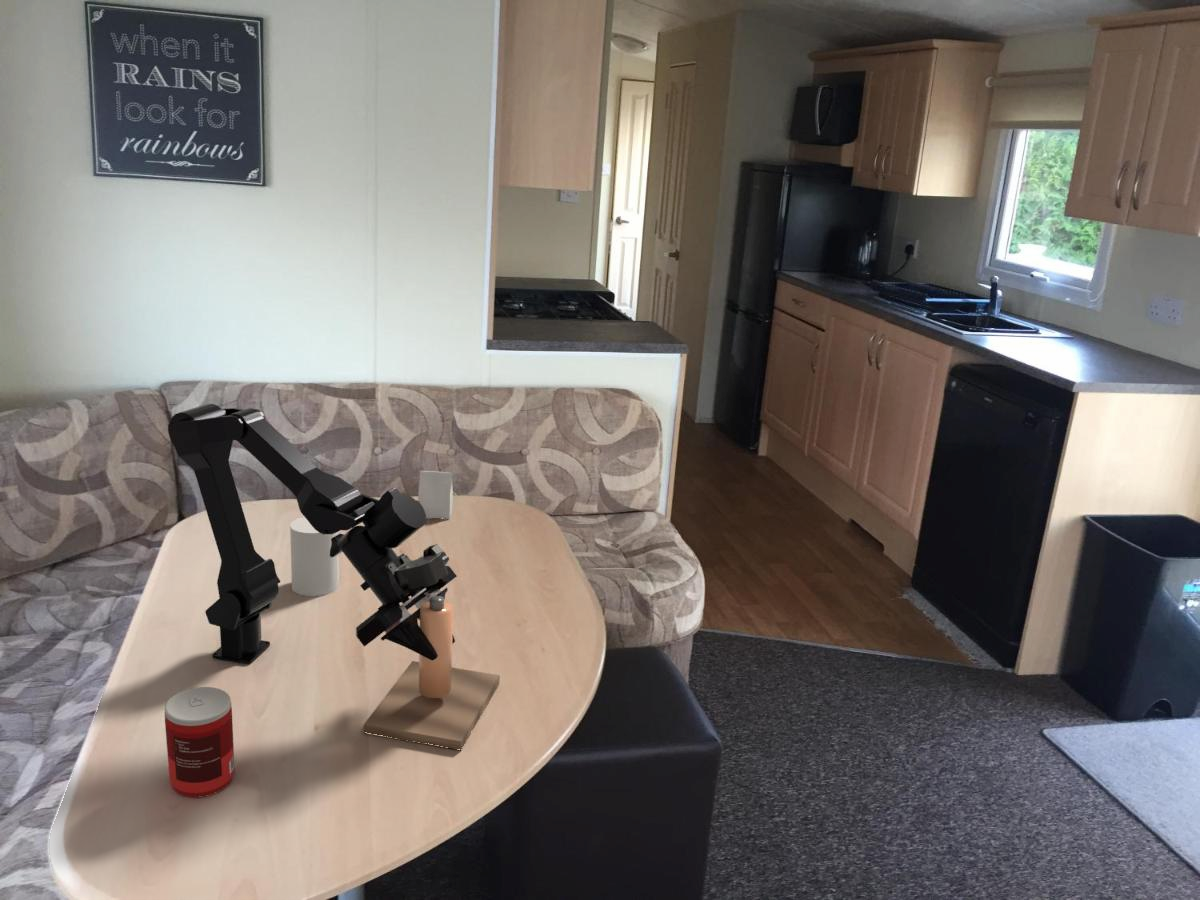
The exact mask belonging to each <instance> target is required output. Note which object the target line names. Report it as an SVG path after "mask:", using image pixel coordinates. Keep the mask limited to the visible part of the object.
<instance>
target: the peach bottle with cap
mask: <svg viewBox="0 0 1200 900" xmlns="http://www.w3.org/2000/svg"><path fill="white" fill-rule="evenodd" d="M419 627H420V628H421V630H422V631H423V633H424V634H425V636H426V637H427V639H428V640H429V642H430V643H431V645H432V646H433V648H434V649H435V651H436V653H437V655H438V657H437V658H436V659H434V660H430V659H428V658H426V657H424V656H422V655H420V654H418V657H419V658H418V659H419V660H418V662H419V692H420V694H421V695H423V696H425V697H429V698H440V697H443V696H446V695H447V694H449V693H450V691H451V671H452V668H453V665H452V664H453V663H452V662H453V644H452V635H453V636H454V634H453V633H454V632H453V631H454V630H453V629H454V606H453V604H452V603H450V602H448V601H445V599H444V598H443V597H442V596H432V597H431V598H430V601H429V602H426V603H424V604H422V605H421V607H420V620H419Z"/></svg>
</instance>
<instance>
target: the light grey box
mask: <svg viewBox="0 0 1200 900" xmlns="http://www.w3.org/2000/svg"><path fill="white" fill-rule="evenodd" d="M453 488H454V485H453V472H447V471H433V470H420V471H419V481H418V492H417V493H418V500H417V501H419V502H420V504H421V505H422V507H423V508H424V511H425V513H426V519H432V518H440V519H439V520H447V519H451V517H452V515H453V495H454V494H453V493H454V489H453ZM451 514H452V515H451ZM450 516H451V517H450ZM442 518H443V519H442ZM445 518H446V519H445Z"/></svg>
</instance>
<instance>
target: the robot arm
mask: <svg viewBox="0 0 1200 900" xmlns="http://www.w3.org/2000/svg"><path fill="white" fill-rule="evenodd" d="M167 431H168V432H167V433H168V435H169V438H170V440H171V443H172V445H173V447H174V449H175V451H176V454H177V455H178V457H179V459H181V460H182V461H183V462H184V463H185V464H186V465H187V466H188V467H189V468H191V469H192V470H193V472H194V474H195V478H196V481H197V485H198V488H199V491H200V494H201V497H202V502H203V504H204V507H205V511H206V514H207V517H208V520H209V524H210V527H211V531H212V534H213V537H214V541H215V544H216V547H217V551H218V554H219V556H220V560H221V561H220V565H219V572H218V576H217V580H216V585H217V591H218V598H219V599H217V600H216V601H215V602H213V604H211V605H210V606H209V607H208V608H207V609H205V611H204V612H205V615H206V618H207V621H208V623H209V624H210V625H213V626H216V627H219V635H220V636H219V637H220V646H219V648H217V650H215V651H214V652H212V656H211V657H212V658H213V659H218V660H225V661H229V660H230V661H231V662H237V663H243V664H251V663H253V662H254V661H255V660H256V659H257V658H258V657H260V655H261V654H262V653H264V652H265V651H266V649H268V648H269V647H270V646H271V642H270V641H268V640H262V621H261V613H263V612H265V611H266V610H269V609H270V608H271V607H272V603H273V601H274V600H275V599H276V598H277V596H278V594H279V591H280V589H279V583H281V580H280V578H279V577H278V574H277V572H276V568H275V567H276V565H275V562H274V561H273V559H272V558H268V559H265V558H263V557H262V556H261V555H260V554H259V553H258V552H257V551H256V549H255V547H254V544H253V540H252V537H251V532H250V530H249V527H248V523H247V520H246V516H245V514H244V510H243V509H244V508H243V506H242V503H241V500H240V496H239V493H238V490H237V486H236V482H235V479H234V476H233V472H232V468H231V466H230V455H231V452H232V451H231V450H232V447H233V442H234V441H236V442H237V443H239V444H240V445H241V446H242V447H243V448H244V449H246V451H247V452H248V453H249V454H251V455H252V456H253V458H255V459H256V460H257V461H258V462H259V464H261V465H263V467H264V468H266V469H267V470H268V471H269V472H270V474H272V475H273V476H274V477H275V478H276V479H277V480H278V481H279V482H281V484H283V486H284V487H286V488H287V489H288V490H289V491H290V492H291V493H292V494H293V496H294V497H295V499H296V502H297V506H298V509H299V512H300V513H301V514H302V515H303V517H305V518H306V519H307V520H308V522H309V523H310V524H311V525H312V527H313V528H314V529H315V530H316V531H318V532H319V533H321V534H323V535H325V534H334V533H337V532H338V535H336V536H335V537H333V538H331V548H330V557H335V556H336V555H338V556H339V555H340V554H341V553H343V554H344V556H345V557H346V558H347V560H348V561H349V562H350V564H352V567H354V569H355V570H356V571H357V572H358V574H359V575H360V577H361V578H362V580H363V581H364V582H362V583H361V584H360V588H361V589H362V590H363V591H364V592H365V591H366V590H368V589H370V590H371V591H372V592H373V594H374V595H375V597H376V598H377V599H378V601H379V602H380V603H381V605H380V606H379V607H378V608H377V611H375V612H374V613H373V614H371V615H370V616H368V618H366V619H365V620H364V621H363V622H361V623H360V624H359V625H357V626H356V627H355V637H356V638H357V639H358V641H359V642H360V643H361V644H362V646H363V647H366V646H367V645H368V644H370V643H371V642H373V641H374V640H376V638H378V637H379V636H380V635H382V634H383V633H385V634H384V635H383V636H381V637H380V640H381V641H385V640H387V641H390V642H392V643H394V644H397V645H399V646H402V647H405V648H406V649H408V650H411V651H412V652H414V653H416V654H418V655H419V654H420V655H422V656H424V657H426V658H428V659H430V660H434V659H436V658H437V657H438V655H437V653H436V651H435V649H434V648H433V646H432V645H431V643H430V642H429V640H428V639H427V637H426V636H425V634H424V633H423V631H422V630H421V628H420V624H419V622H418V621H420V607H421V605H422V604H424V603H426V602H429V601H430V598H431V597H432V596H442V597H443V598H444V600H445V599H446V594H447V592H448V591H449V589H448V587H445V586H446V585H447V584H449V583H451V582H452V581H453V580H454V579H456V578H457V576H458V575H457V574H456V573H455V572H454V570H453V569H452V567H451V566H450V565H447V564H448V562H449V560H450V557H449V555H447V554H446V552H445V551H444V549H443V548H442V547H441V546H440V545H439V544H436V543H435V544H432V545H430V546H428V547H426V548H425V549H424V550H423V554H422V555H423V556H420V557H418V558H417V559H412V560H411V558H409V556H408V555H407V554H405V553H402V554H400V555H399V556H398V555H397V553H396V552H395V551H394V549H395V548H398V547H399V546H401V545H402V544H403V543H404V542H405V541H406V540H408V539H409V538H410V537H412V536H413V535H414V534H415V533H416V532H417V531H419V530H420V529H421V528H422V527H424V525H425V524H426V522H427V518H426V513H425V511H424V508H423V507H422V505H421V504H420V502H419V501H418V500H416V499H415V498H414V497H412V496H411V495H409V494H407V493H401V492H400V491H399V489H398V488H397V487H394V486H393V487H392V488H390V489H388V490H386V492H385V493H383V494H382V495H381V496H380V498H379V499H377V498H374V497H371V496H369V495H366V494H363V493H361V492H360V491H359V490H358V489H357V488H356V487H354V486H353V485H352V484H350V483H348V482H347V481H345V480H344V479H343V478H341V477H340V476H336V475H333V474H330V473H327V472H325V471H323V470H321V469H320V468H319V467H317V466H316V465H315V464H314V463H313V462H312V461H311V460H310V459H308V458H307V457H306V456H305V454H303V453H302V452H301V451H300V450H299V449H297V448H296V446H295V445H293V444H292V443H291V442H290V441H289V440H288V439H287V438H286V437H284V436H283V434H281V433H280V432H279V431H278V430H277V429H276V428H275V427H274V426H273V425H272V424H271V423H270V422H269V421H268V420H266V417H265V414H263V412H262V411H261V410H259V409H257V408H252V407H249V408H239V407H229V408H221V407H220V406H219V405H217V404H214V403H206V404H203V405H199V406H197V407H193V408H189V409H187V410H184V411H180V412H177V413H175V414H174V415H173V416H172V417H171V419H170V422H169V423H167ZM361 523H362V524H363V525H360V524H361ZM340 531H347V532H345V533H344V534H343V533H339V532H340ZM444 587H445V588H444ZM442 588H444V589H443V590H441V589H442ZM410 597H411V598H410ZM400 603H401V604H400ZM414 606H415V608H416V610H415V611H414V612H413V613H410V612H409V610H410V609H411V608H412V607H414ZM455 642H456V639H455V636H454V634H453V635H452V645H453V644H454V643H455Z"/></svg>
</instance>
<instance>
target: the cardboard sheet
mask: <svg viewBox="0 0 1200 900" xmlns="http://www.w3.org/2000/svg"><path fill="white" fill-rule="evenodd" d="M500 681H501V680H500V675H499V674H496V673H495V674H494V673H488V672H482V671H475V670H469V669H465V668H457V667H452V671H451V691H450V693H449V694H447V695H446V696H443V697H440V698H429V697H425V696H423V695H421V694H420V692H419V661H415V660H411V662H410V664H409V665H408V666H407V668H406V669H405V670H404V671H403V672H402V674H401V675H400V677H399V678H398V679H397V681H396V682H395V683H394V684H393V685H392V687H391V688H390V689H389V691H388V692H387V694H386V695H385V696H384V697H383V699H382V700H381V701H380V703H379V704H378V705H377V706H376V708H375V709H374V710H373V711H372V713H371V714H370V716H369V717H368V718H367V719H366V721H365V722H364V723H363V733H364V732H367V733H371V734H377V735H383V736H386V737H387V736H388V737H392V738H397V739H400V740H399V741H403V740H408V741H415V742H420V743H427V744H428V743H429V744H433V745H439V746H443V747H448V748H453V749H460V750H461V749H462V750H463V748H464V747H463V746H465V745H466V743H467V741H468V740H467V738H468V737H470V736H471V734H472V733H471V731H472V730H473V731H474V729H475V727H476V726H477V724H478V722H479V720H480V719H481V717H482V715H483V713H484V712H485V710H486V708H487V706H488V704H489V703H490V701H491V699H492V698H493V696H494V694H495V693H496V691H495V690H497V689H498V687H499V685H500ZM491 697H492V698H491ZM483 711H484V712H483ZM480 716H481V717H480ZM479 718H480V719H479ZM477 721H478V722H477ZM476 723H477V724H476ZM475 725H476V726H475ZM474 726H475V727H474ZM473 728H474V729H473ZM473 731H472V732H473ZM470 733H471V734H470ZM469 735H470V736H469ZM386 737H385V738H386ZM392 738H391V739H392ZM397 739H396V740H397ZM468 739H469V738H468ZM466 740H467V741H466ZM408 741H407V742H408ZM465 742H466V743H465ZM464 744H465V745H464ZM462 747H463V748H462ZM453 749H452V750H453ZM462 750H461V751H462Z"/></svg>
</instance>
